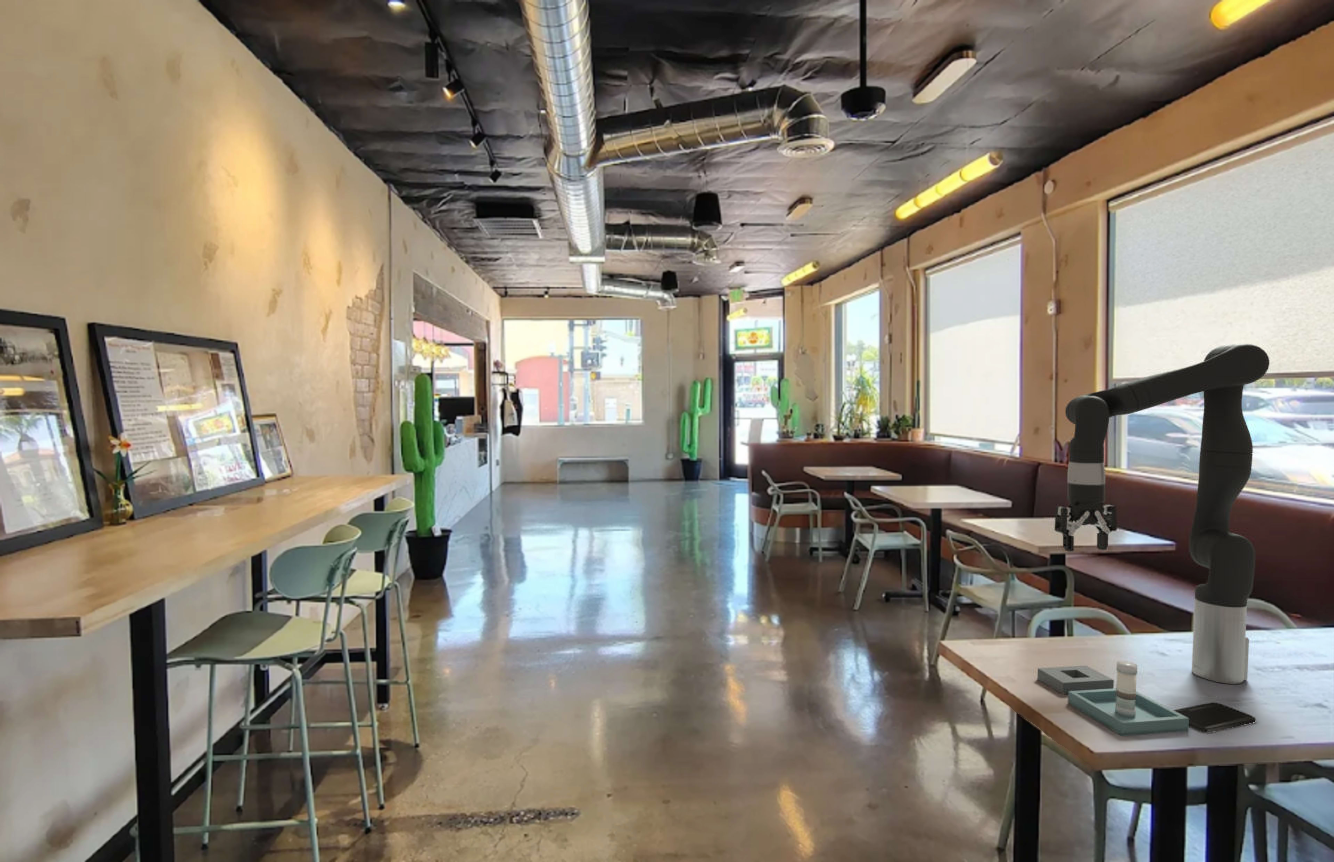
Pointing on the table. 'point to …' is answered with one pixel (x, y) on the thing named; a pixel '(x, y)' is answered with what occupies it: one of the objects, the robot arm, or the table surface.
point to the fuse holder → (1074, 678)
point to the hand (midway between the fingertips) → (1085, 550)
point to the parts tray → (1146, 721)
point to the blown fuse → (1126, 689)
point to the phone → (1214, 717)
